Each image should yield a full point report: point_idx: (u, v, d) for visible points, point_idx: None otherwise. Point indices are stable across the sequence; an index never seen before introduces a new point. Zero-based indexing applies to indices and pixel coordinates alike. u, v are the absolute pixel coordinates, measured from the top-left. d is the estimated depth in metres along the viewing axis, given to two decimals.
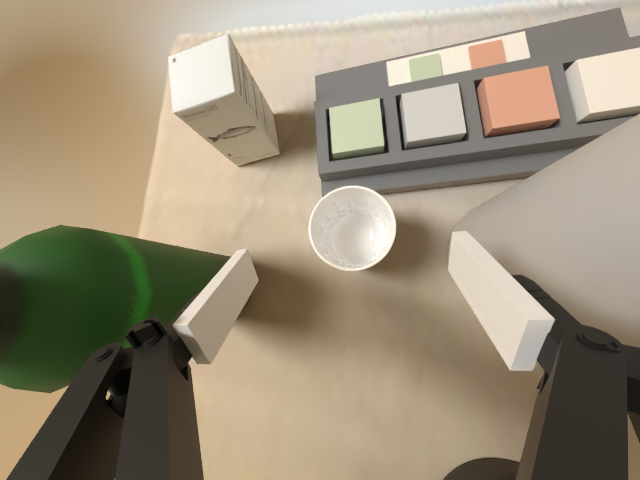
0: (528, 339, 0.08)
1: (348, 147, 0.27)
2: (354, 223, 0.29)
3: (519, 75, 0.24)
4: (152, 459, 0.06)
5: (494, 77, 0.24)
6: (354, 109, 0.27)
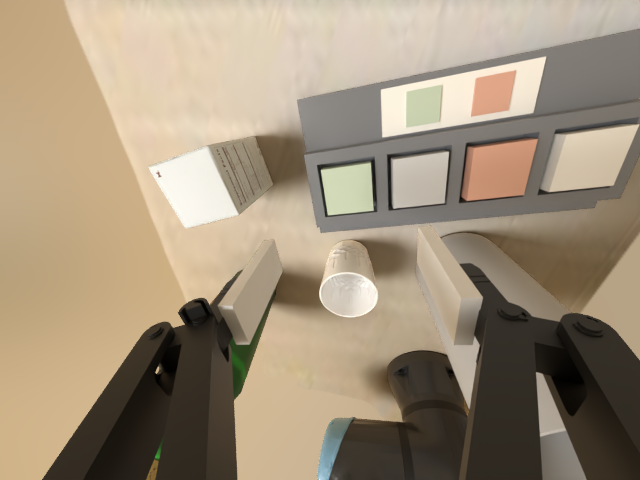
0: (464, 315, 0.09)
1: (342, 210, 0.30)
2: None
3: (507, 148, 0.24)
4: (193, 436, 0.06)
5: (484, 148, 0.25)
6: (346, 173, 0.28)
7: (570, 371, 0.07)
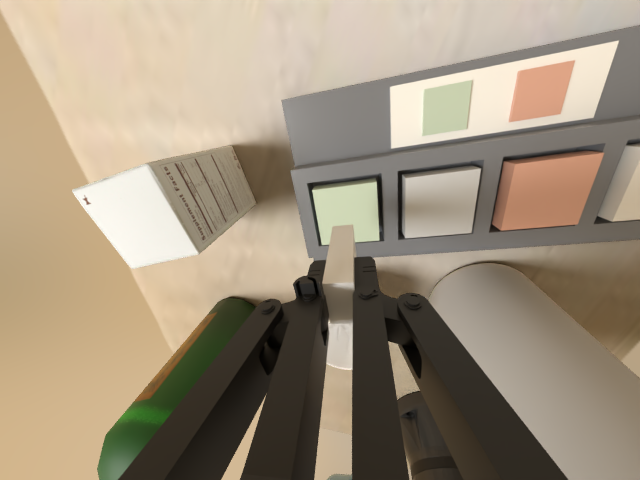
0: (344, 297, 0.11)
1: None
2: None
3: (561, 165, 0.18)
4: (287, 419, 0.06)
5: (529, 164, 0.18)
6: (344, 195, 0.21)
7: (412, 341, 0.09)
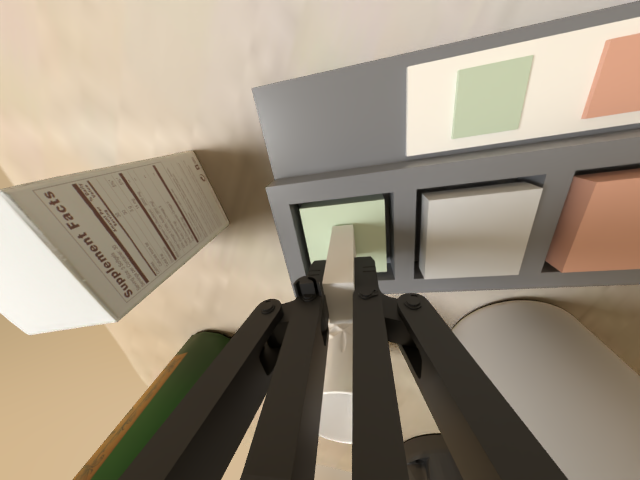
0: (344, 297, 0.11)
1: None
2: None
3: None
4: (287, 419, 0.06)
5: (618, 183, 0.12)
6: (342, 215, 0.16)
7: (412, 341, 0.09)
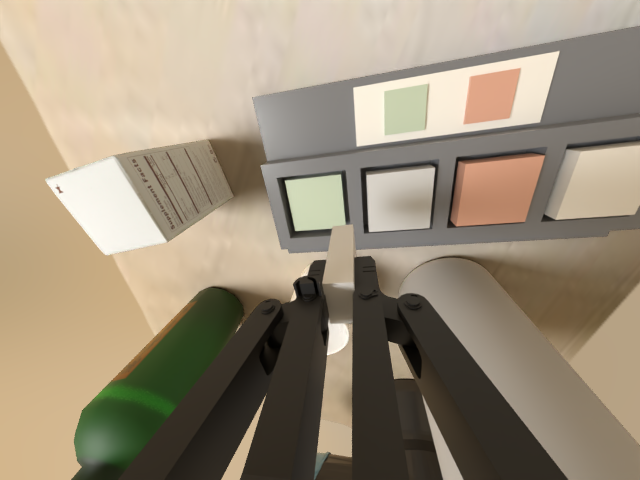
0: (344, 297, 0.11)
1: (310, 226, 0.26)
2: None
3: (507, 166, 0.19)
4: (287, 419, 0.06)
5: (478, 165, 0.20)
6: (313, 185, 0.24)
7: (412, 341, 0.09)
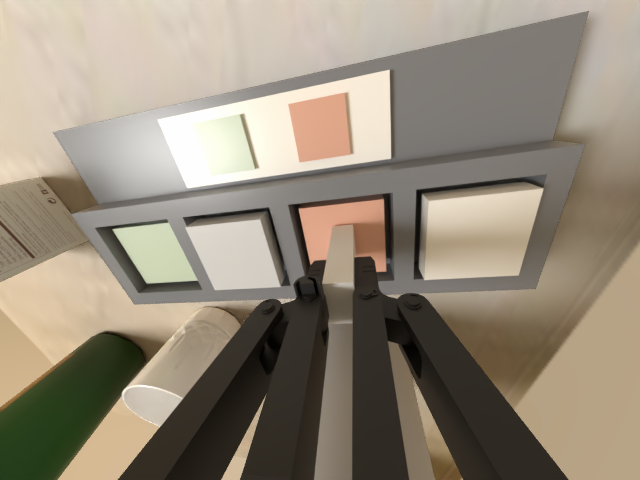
0: (344, 297, 0.11)
1: (161, 278, 0.22)
2: None
3: (345, 210, 0.16)
4: (287, 419, 0.06)
5: (312, 209, 0.16)
6: (145, 234, 0.20)
7: (412, 340, 0.09)
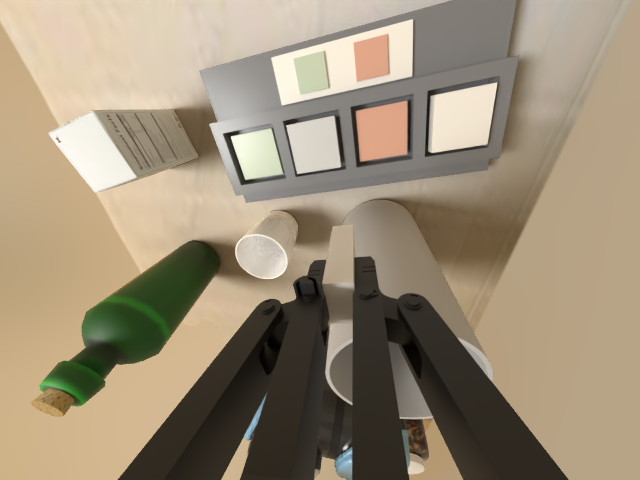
0: (344, 298, 0.11)
1: (256, 174, 0.33)
2: None
3: (384, 110, 0.27)
4: (287, 419, 0.06)
5: (364, 111, 0.27)
6: (252, 139, 0.31)
7: (412, 341, 0.09)
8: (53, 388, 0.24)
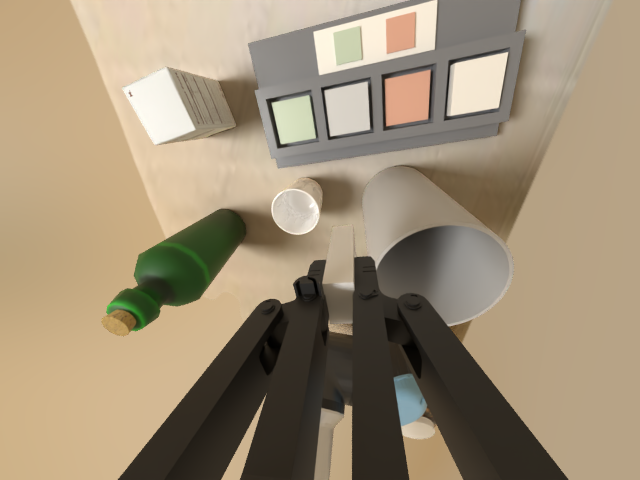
0: (344, 297, 0.11)
1: (291, 139, 0.37)
2: None
3: (409, 78, 0.32)
4: (287, 419, 0.06)
5: (392, 79, 0.32)
6: (291, 105, 0.35)
7: (412, 340, 0.09)
8: (119, 309, 0.27)
